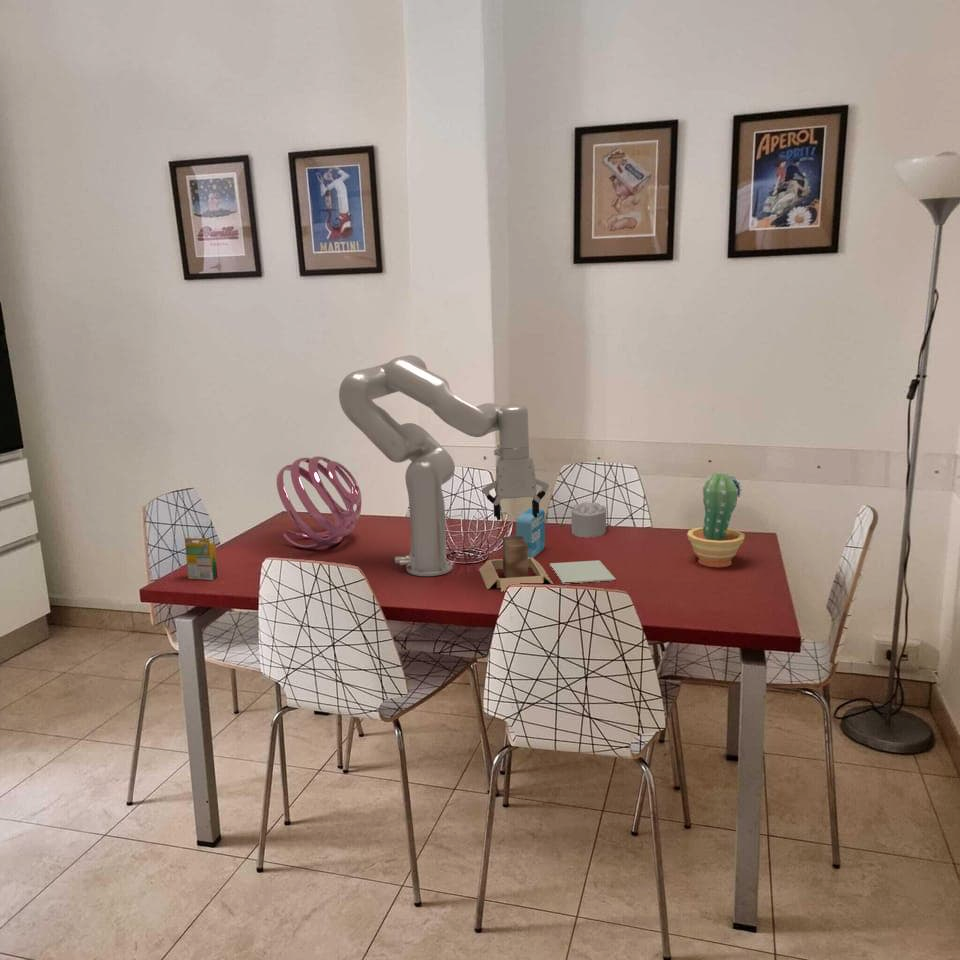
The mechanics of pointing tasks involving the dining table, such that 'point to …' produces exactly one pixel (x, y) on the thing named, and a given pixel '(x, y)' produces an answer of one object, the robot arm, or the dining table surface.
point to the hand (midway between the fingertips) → (516, 517)
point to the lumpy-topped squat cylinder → (588, 520)
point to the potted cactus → (717, 522)
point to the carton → (492, 577)
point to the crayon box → (201, 559)
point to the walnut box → (515, 557)
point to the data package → (532, 531)
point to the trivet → (582, 572)
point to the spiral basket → (340, 515)
